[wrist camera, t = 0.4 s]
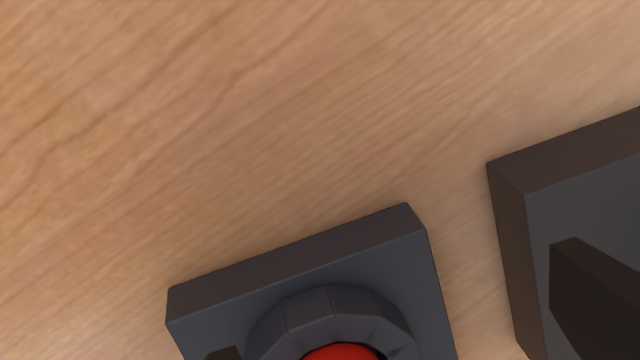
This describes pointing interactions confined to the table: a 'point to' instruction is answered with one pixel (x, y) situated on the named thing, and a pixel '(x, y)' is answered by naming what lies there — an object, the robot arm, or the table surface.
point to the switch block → (322, 297)
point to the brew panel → (564, 216)
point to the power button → (341, 352)
